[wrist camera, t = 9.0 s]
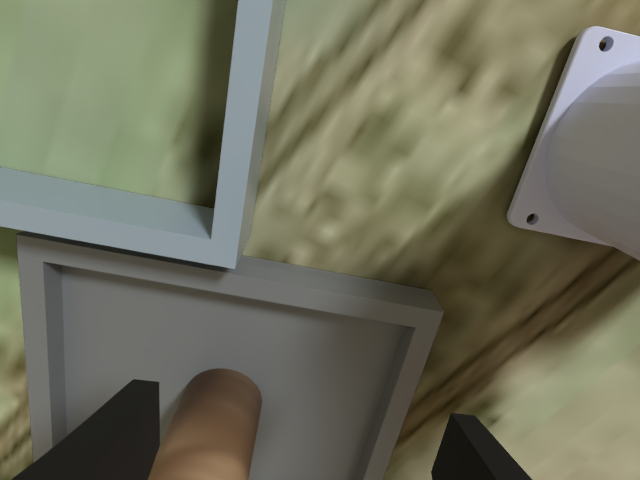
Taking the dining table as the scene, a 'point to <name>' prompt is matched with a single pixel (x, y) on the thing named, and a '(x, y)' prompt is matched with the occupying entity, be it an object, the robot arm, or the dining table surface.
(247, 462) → the walnut dowel
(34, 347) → the grey tray
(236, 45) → the frame
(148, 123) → the dining table surface
